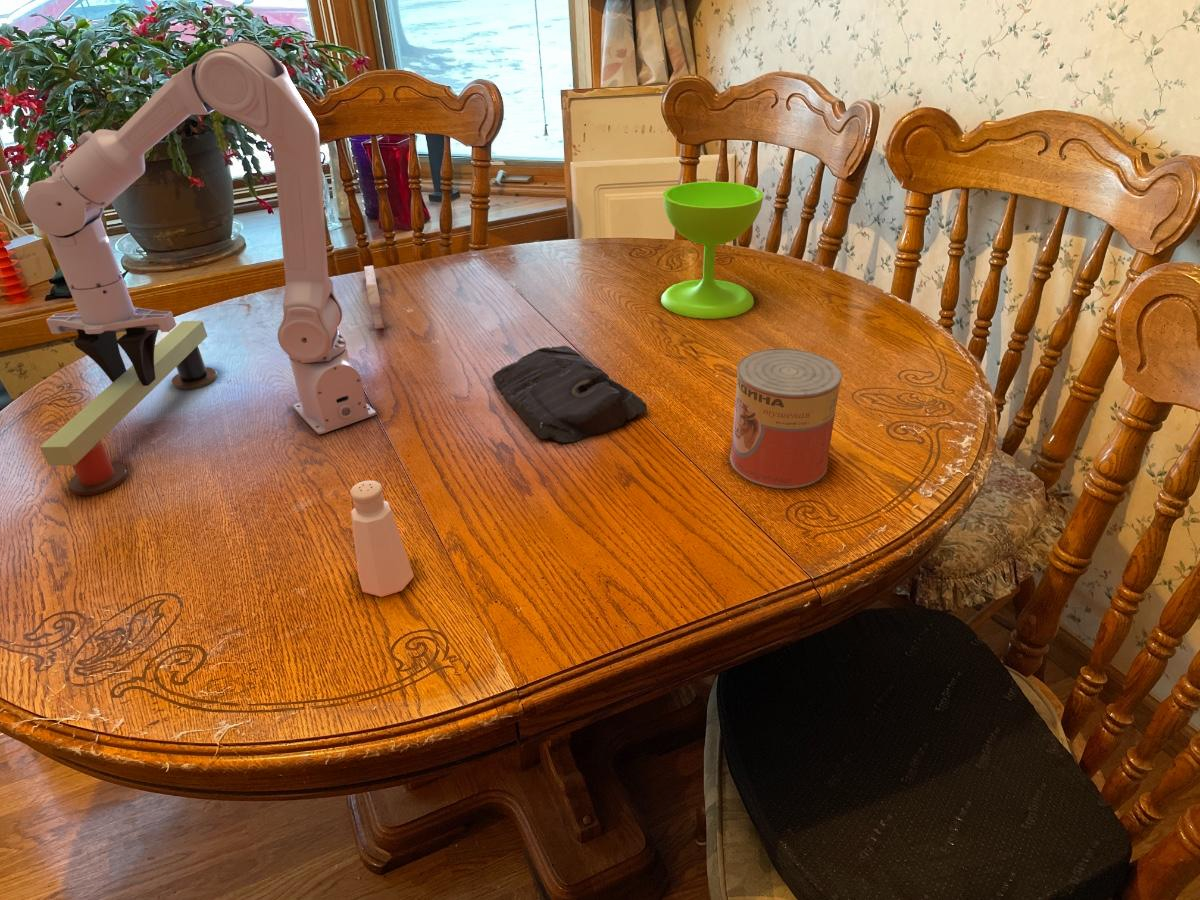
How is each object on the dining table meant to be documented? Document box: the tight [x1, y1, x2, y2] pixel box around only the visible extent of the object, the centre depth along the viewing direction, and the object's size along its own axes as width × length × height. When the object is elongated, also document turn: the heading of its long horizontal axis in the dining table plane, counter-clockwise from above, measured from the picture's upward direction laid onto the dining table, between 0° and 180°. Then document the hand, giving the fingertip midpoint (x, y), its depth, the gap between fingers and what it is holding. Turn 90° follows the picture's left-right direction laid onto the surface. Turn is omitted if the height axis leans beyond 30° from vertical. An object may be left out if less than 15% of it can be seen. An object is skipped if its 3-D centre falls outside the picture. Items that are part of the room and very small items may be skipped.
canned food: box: [729, 348, 843, 490], centre depth 89 cm, size 11×11×12 cm
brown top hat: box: [171, 345, 218, 391], centre depth 112 cm, size 6×6×5 cm
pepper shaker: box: [349, 479, 415, 598], centre depth 74 cm, size 5×5×11 cm
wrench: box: [363, 265, 386, 330], centre depth 134 cm, size 8×2×30 cm
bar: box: [39, 320, 208, 467], centre depth 100 cm, size 34×3×2 cm, turn 0°
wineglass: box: [660, 181, 764, 320], centre depth 129 cm, size 16×16×18 cm
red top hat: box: [68, 439, 128, 497], centre depth 91 cm, size 6×6×5 cm
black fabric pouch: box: [491, 345, 648, 445], centre depth 105 cm, size 15×22×5 cm
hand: (135, 382), depth 100 cm, fingers closed on bar, 3 cm apart
